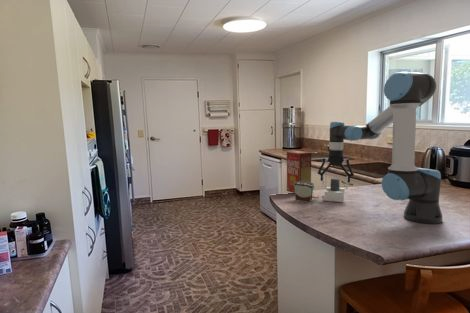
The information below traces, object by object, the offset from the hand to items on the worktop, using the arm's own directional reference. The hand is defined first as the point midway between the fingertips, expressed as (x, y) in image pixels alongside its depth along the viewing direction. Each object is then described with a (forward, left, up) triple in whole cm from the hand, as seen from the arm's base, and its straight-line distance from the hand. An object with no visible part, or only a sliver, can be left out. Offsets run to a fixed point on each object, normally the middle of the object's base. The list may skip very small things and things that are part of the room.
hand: (334, 187), depth 181 cm
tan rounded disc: (0, +12, -6) cm, 14 cm away
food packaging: (+8, +22, -7) cm, 24 cm away
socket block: (0, 0, -6) cm, 6 cm away
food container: (-9, +15, -7) cm, 19 cm away
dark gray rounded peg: (0, 0, -6) cm, 6 cm away
